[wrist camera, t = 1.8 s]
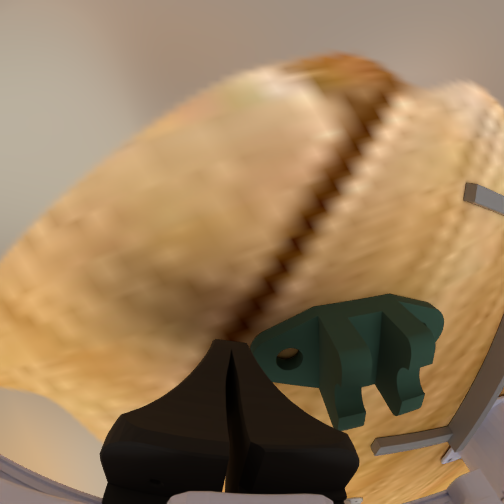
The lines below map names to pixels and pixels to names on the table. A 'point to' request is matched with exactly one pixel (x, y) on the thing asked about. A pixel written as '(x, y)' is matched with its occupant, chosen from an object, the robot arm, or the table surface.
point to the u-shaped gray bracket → (483, 388)
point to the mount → (355, 353)
